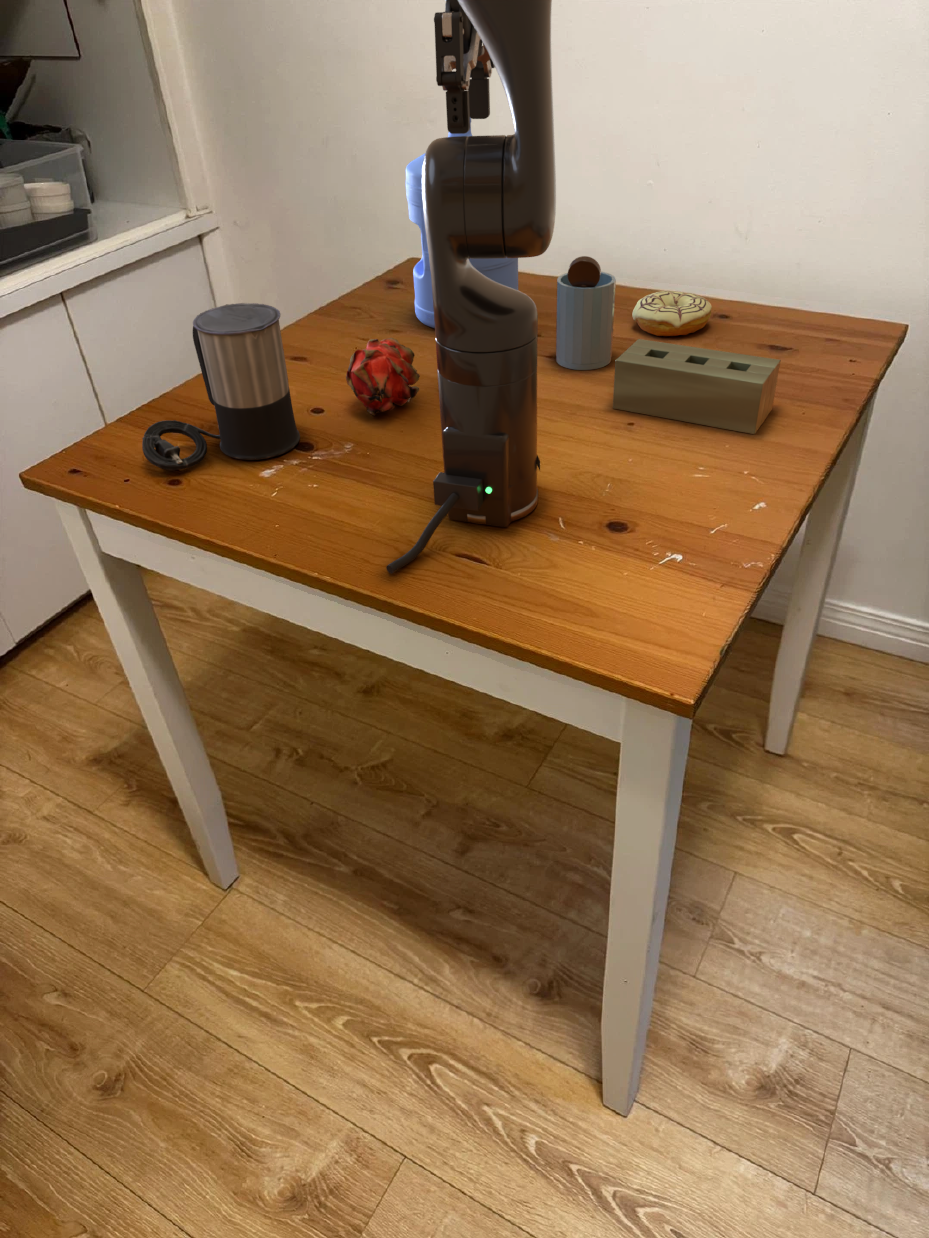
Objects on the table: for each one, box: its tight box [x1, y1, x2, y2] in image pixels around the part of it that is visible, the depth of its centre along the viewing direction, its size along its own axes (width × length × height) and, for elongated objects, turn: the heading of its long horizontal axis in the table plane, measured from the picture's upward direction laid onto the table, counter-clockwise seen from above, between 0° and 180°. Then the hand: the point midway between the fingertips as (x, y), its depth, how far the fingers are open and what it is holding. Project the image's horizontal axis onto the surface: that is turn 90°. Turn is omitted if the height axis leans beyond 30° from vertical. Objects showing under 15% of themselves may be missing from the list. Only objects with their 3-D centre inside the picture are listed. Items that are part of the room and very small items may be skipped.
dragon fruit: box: [345, 337, 421, 417], centre depth 111 cm, size 8×8×12 cm
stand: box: [612, 338, 781, 435], centre depth 106 cm, size 7×17×6 cm, turn 60°
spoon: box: [567, 255, 602, 287], centre depth 116 cm, size 4×1×14 cm, turn 77°
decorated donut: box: [631, 290, 713, 337], centre depth 129 cm, size 10×11×4 cm
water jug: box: [405, 118, 519, 329], centre depth 129 cm, size 16×16×28 cm
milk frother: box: [141, 302, 301, 471], centre depth 100 cm, size 14×16×15 cm
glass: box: [555, 271, 617, 371], centre depth 118 cm, size 7×7×10 cm
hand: (469, 125), depth 96 cm, fingers open, 8 cm apart
